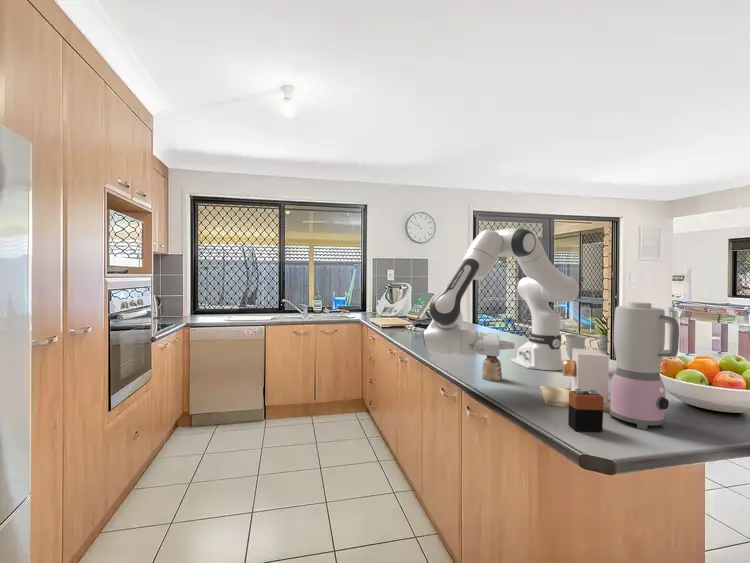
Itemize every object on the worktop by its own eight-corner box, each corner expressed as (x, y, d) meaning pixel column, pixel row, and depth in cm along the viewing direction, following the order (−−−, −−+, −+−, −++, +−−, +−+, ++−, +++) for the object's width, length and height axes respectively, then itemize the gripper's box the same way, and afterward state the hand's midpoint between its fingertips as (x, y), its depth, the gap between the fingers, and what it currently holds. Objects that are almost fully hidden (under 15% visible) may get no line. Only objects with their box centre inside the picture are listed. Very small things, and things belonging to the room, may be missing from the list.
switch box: (577, 400, 115) (578, 354, 115) (571, 391, 125) (572, 348, 125) (607, 403, 113) (608, 356, 113) (599, 393, 123) (600, 350, 122)
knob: (564, 377, 119) (565, 361, 119) (562, 373, 123) (562, 358, 123) (598, 380, 116) (599, 364, 116) (594, 376, 121) (595, 360, 121)
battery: (567, 425, 100) (568, 387, 100) (593, 425, 100) (594, 387, 100) (575, 432, 96) (576, 392, 96) (603, 432, 96) (604, 392, 95)
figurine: (501, 377, 147) (501, 345, 147) (502, 382, 140) (503, 349, 140) (481, 375, 149) (482, 344, 148) (482, 380, 142) (483, 348, 142)
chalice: (588, 391, 130) (589, 338, 130) (566, 389, 132) (567, 337, 131) (581, 385, 138) (582, 335, 137) (560, 383, 139) (562, 334, 139)
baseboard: (545, 405, 115) (545, 400, 115) (540, 390, 131) (540, 385, 131) (614, 412, 110) (614, 407, 110) (600, 396, 125) (600, 391, 125)
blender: (598, 416, 107) (601, 301, 106) (627, 410, 112) (630, 300, 111) (660, 438, 92) (663, 306, 92) (689, 431, 97) (693, 305, 97)
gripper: (468, 339, 120) (515, 341, 116) (472, 329, 139) (513, 331, 135) (468, 359, 120) (515, 362, 116) (472, 346, 140) (513, 348, 135)
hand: (514, 345), depth 126 cm, fingers closed
